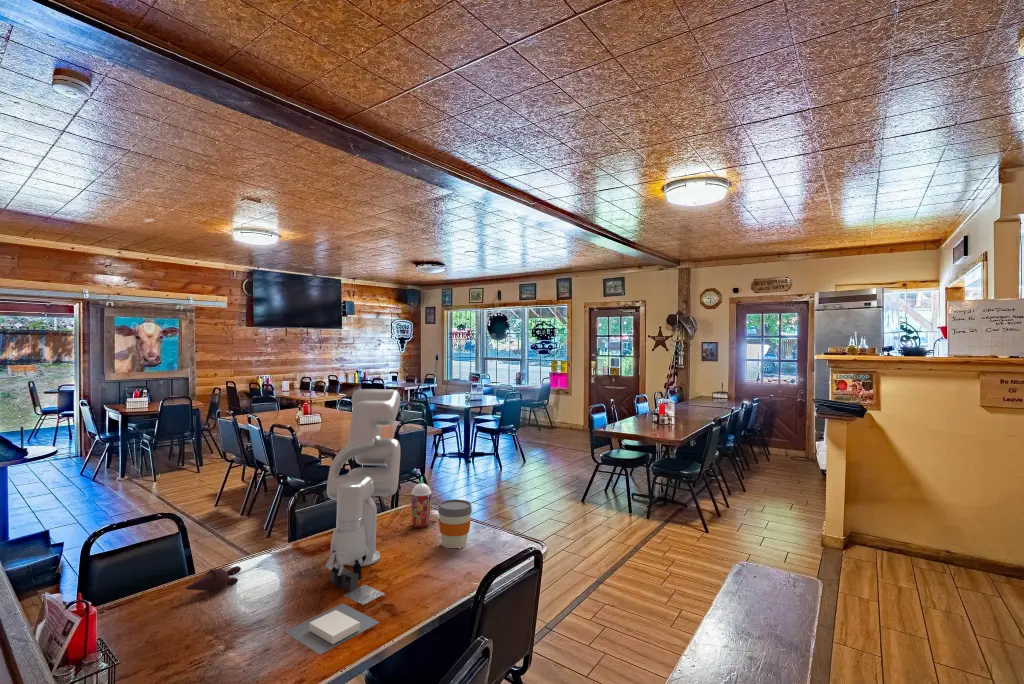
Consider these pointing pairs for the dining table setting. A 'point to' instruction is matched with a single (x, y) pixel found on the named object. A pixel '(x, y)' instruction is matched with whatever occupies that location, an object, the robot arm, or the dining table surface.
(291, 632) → the mat
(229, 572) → the icecream
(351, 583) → the trowel
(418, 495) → the smoothie
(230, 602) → the dining table surface
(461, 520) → the reusable coffee cup
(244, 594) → the dining table surface
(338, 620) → the tile
